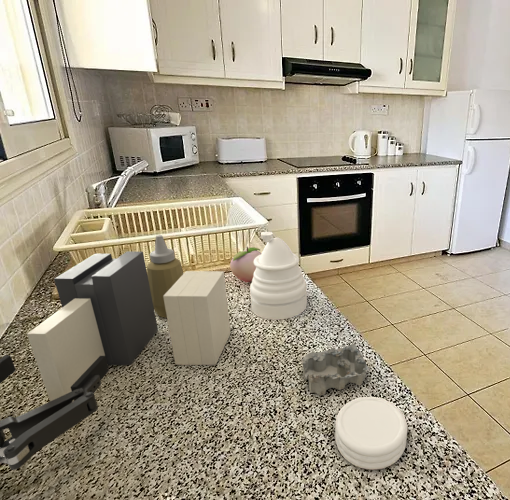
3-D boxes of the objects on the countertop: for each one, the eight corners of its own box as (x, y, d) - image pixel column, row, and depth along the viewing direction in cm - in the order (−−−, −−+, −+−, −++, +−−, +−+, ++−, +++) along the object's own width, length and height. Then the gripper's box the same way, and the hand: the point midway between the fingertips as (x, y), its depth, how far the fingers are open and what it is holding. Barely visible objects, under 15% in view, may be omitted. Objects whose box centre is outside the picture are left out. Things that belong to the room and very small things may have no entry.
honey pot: (257, 324, 80) (251, 245, 73) (246, 297, 90) (240, 227, 84) (314, 313, 85) (313, 238, 78) (298, 288, 95) (296, 221, 89)
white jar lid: (364, 486, 46) (365, 466, 45) (321, 432, 54) (321, 413, 53) (420, 447, 52) (423, 428, 51) (375, 403, 59) (376, 385, 58)
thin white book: (53, 412, 56) (26, 333, 51) (94, 368, 65) (74, 298, 60) (70, 412, 56) (45, 333, 51) (108, 368, 66) (90, 298, 60)
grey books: (78, 364, 66) (52, 275, 60) (113, 330, 77) (94, 250, 70) (130, 364, 67) (109, 276, 60) (158, 330, 77) (143, 251, 70)
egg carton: (310, 399, 60) (309, 379, 58) (299, 369, 67) (299, 350, 65) (371, 384, 63) (372, 365, 62) (355, 358, 70) (356, 339, 68)
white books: (175, 364, 67) (162, 296, 62) (195, 333, 76) (185, 270, 71) (215, 365, 67) (206, 296, 62) (230, 333, 76) (224, 271, 71)
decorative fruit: (253, 292, 93) (251, 255, 89) (226, 286, 96) (222, 250, 92) (274, 277, 101) (272, 243, 98) (248, 272, 104) (245, 238, 100)
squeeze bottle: (143, 316, 82) (127, 239, 75) (172, 299, 89) (160, 227, 82) (171, 324, 79) (157, 245, 72) (199, 307, 86) (188, 233, 79)
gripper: (-217, 534, 36) (-21, 383, 56) (45, 532, 37) (147, 383, 57) (-261, 480, 34) (-39, 341, 53) (23, 478, 34) (138, 342, 54)
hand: (58, 362), depth 55 cm, fingers open, 13 cm apart
